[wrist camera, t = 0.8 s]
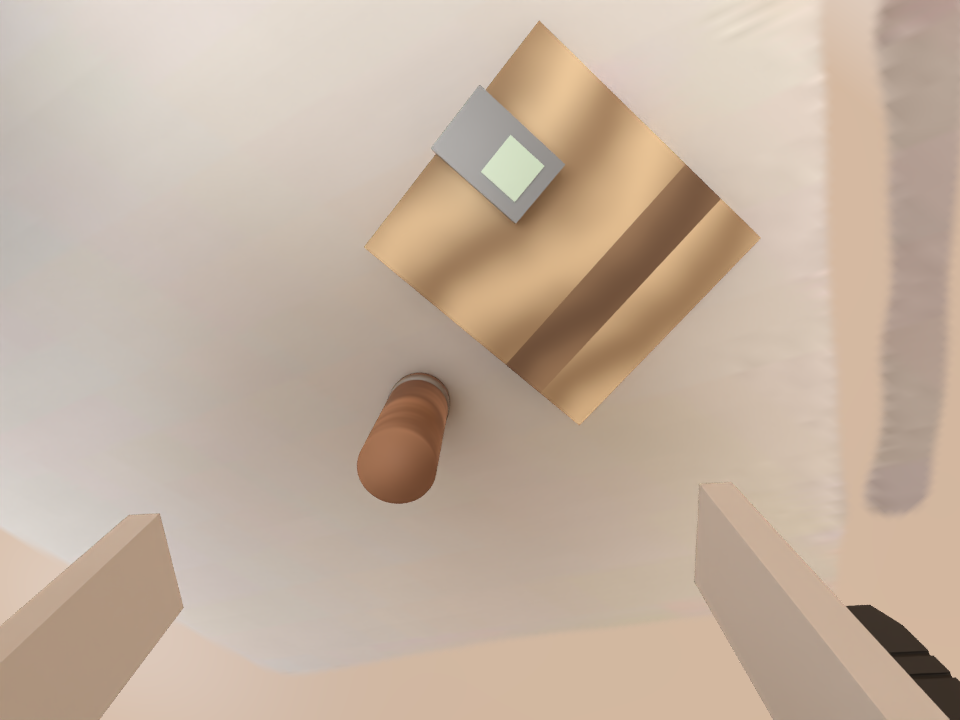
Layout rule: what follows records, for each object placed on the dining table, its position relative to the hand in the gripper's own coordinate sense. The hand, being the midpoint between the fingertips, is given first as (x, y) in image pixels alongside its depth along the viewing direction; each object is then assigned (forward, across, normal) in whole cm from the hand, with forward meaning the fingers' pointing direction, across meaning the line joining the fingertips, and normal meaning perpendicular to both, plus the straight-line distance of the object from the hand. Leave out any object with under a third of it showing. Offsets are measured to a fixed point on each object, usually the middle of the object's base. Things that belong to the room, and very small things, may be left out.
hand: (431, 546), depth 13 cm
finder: (+22, +3, +10) cm, 24 cm away
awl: (+23, -3, -4) cm, 24 cm away
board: (+23, +6, +6) cm, 25 cm away
